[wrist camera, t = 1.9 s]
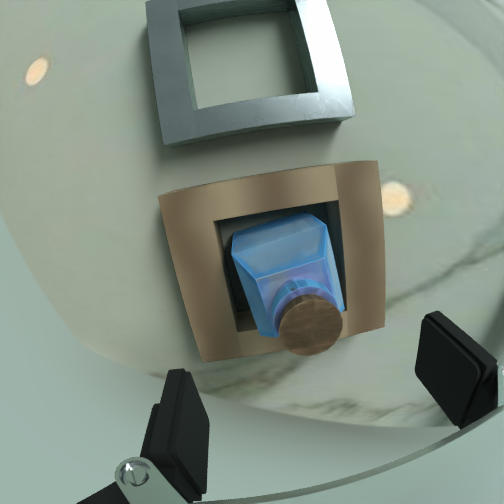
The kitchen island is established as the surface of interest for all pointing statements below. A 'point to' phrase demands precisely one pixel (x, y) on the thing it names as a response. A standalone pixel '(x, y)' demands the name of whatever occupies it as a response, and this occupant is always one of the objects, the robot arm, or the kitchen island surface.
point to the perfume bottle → (291, 281)
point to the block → (250, 111)
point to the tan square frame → (267, 199)
